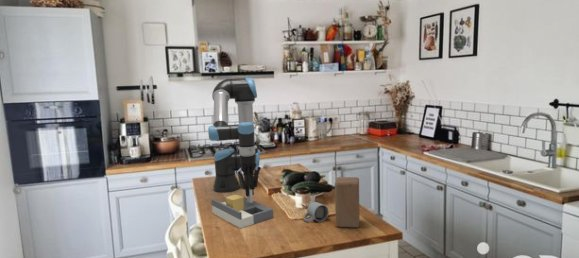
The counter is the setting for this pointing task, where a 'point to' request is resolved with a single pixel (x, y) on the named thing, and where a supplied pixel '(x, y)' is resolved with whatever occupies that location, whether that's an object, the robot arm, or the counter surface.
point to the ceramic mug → (316, 212)
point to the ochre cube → (235, 202)
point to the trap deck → (242, 213)
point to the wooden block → (347, 202)
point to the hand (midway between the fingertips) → (250, 202)
